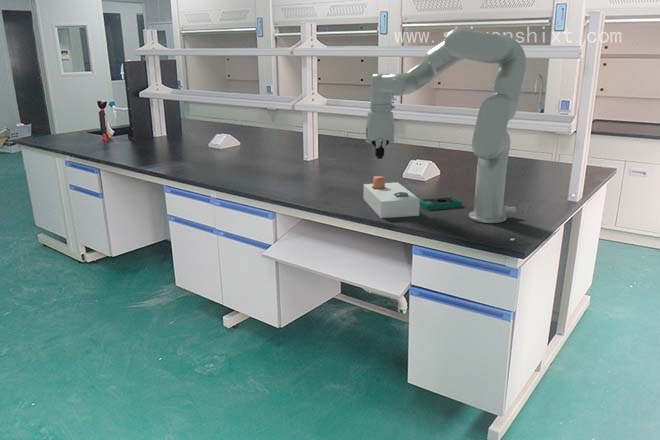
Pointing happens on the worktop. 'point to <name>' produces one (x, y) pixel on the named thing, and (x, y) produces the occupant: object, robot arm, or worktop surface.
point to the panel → (391, 201)
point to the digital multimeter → (440, 203)
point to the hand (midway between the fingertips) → (379, 158)
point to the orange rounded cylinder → (378, 182)
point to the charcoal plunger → (401, 194)
